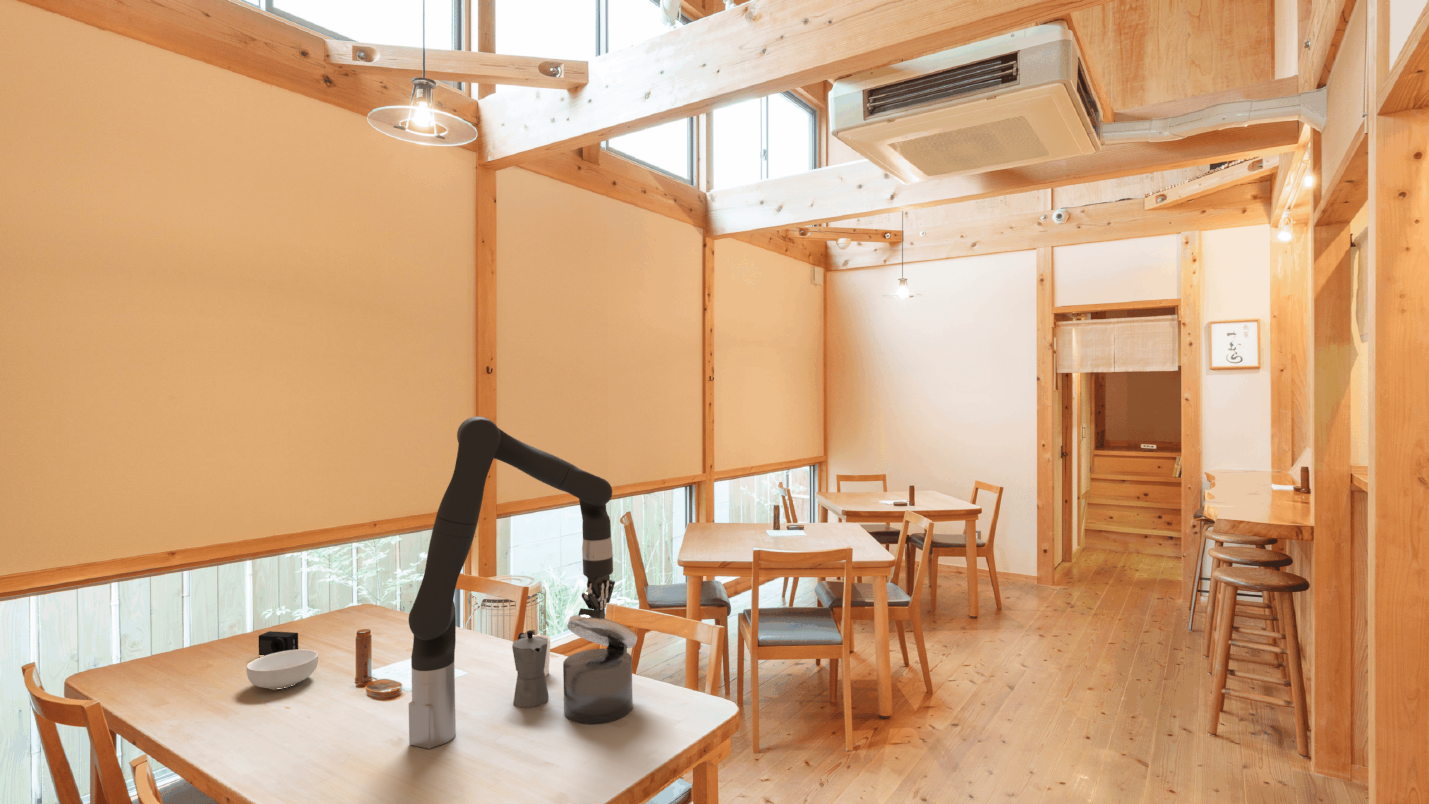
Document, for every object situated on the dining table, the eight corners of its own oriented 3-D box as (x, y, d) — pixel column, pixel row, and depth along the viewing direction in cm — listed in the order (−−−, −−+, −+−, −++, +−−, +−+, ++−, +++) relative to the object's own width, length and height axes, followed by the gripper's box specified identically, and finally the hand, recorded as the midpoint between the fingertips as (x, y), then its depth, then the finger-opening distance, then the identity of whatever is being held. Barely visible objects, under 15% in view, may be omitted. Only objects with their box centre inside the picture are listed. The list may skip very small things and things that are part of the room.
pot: (611, 729, 162) (610, 678, 162) (550, 717, 168) (549, 668, 168) (647, 696, 179) (647, 650, 179) (591, 687, 186) (590, 642, 186)
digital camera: (255, 659, 210) (254, 636, 210) (269, 653, 216) (269, 630, 216) (284, 661, 208) (284, 638, 208) (298, 654, 214) (298, 632, 214)
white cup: (546, 680, 191) (546, 644, 191) (518, 680, 191) (517, 644, 191) (553, 669, 199) (553, 634, 199) (526, 669, 199) (526, 634, 199)
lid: (618, 625, 165) (622, 612, 166) (555, 617, 171) (559, 605, 173) (647, 652, 178) (650, 640, 180) (587, 644, 185) (591, 633, 187)
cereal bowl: (331, 673, 198) (331, 648, 198) (290, 698, 182) (290, 671, 182) (277, 671, 200) (276, 647, 200) (231, 696, 183) (230, 670, 183)
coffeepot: (557, 704, 175) (556, 634, 175) (521, 714, 170) (520, 641, 170) (537, 684, 188) (536, 618, 188) (502, 692, 183) (501, 625, 183)
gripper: (597, 563, 166) (599, 634, 167) (623, 549, 179) (625, 615, 179) (570, 561, 169) (572, 630, 169) (598, 548, 181) (600, 613, 182)
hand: (600, 623), depth 174 cm, fingers closed
